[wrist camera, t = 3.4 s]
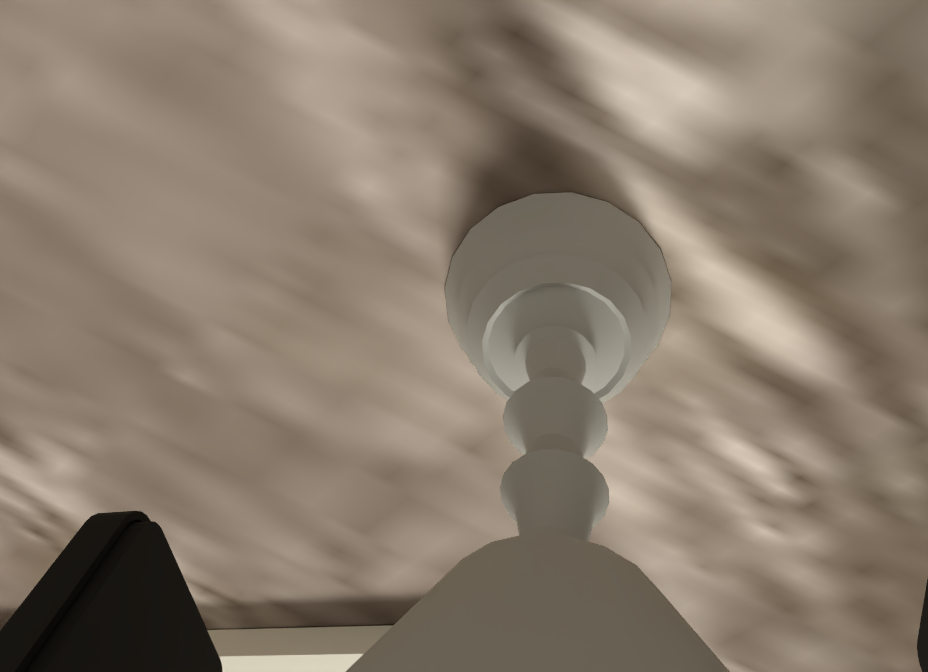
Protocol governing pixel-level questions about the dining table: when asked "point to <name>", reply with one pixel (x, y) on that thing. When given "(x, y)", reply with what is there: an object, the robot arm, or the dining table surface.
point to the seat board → (294, 648)
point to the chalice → (551, 452)
